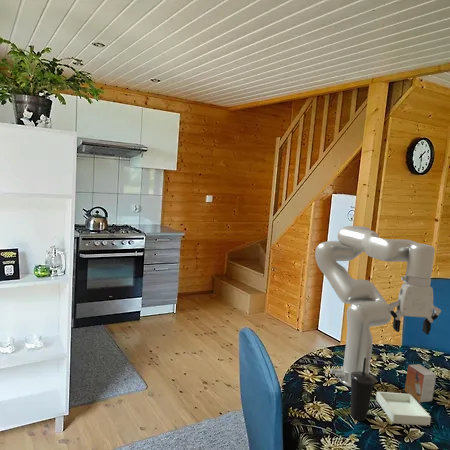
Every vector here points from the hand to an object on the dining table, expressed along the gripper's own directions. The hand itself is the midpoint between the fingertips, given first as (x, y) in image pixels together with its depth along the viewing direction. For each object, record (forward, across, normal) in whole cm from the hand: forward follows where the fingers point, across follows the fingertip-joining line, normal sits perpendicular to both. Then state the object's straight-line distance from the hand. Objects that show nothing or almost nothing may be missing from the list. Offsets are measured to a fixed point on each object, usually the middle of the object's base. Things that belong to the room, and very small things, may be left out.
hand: (410, 331), depth 132 cm
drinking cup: (+29, -16, -5) cm, 33 cm away
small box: (+29, +12, +12) cm, 33 cm away
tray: (+28, +1, 0) cm, 28 cm away
